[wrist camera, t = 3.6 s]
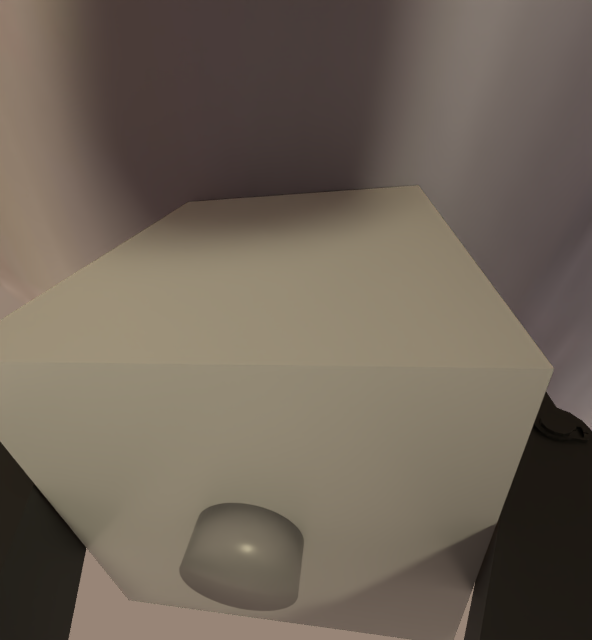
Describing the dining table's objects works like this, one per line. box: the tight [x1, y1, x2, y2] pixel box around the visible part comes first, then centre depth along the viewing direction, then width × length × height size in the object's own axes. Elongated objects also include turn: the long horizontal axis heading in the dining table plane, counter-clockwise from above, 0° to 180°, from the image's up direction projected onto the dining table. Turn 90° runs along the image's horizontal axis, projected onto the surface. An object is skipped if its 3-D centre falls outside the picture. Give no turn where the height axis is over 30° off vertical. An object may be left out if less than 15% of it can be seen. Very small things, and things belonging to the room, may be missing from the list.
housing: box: [0, 185, 554, 640], centre depth 10 cm, size 8×8×10 cm
